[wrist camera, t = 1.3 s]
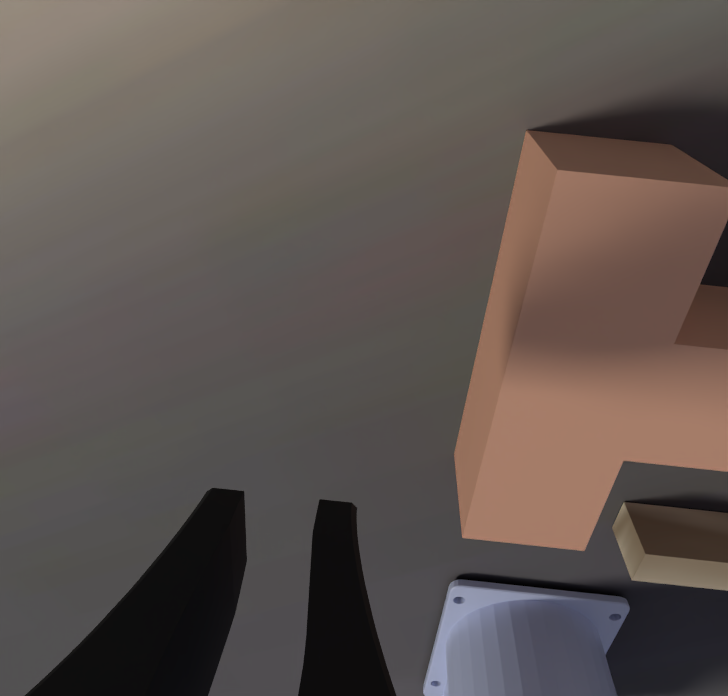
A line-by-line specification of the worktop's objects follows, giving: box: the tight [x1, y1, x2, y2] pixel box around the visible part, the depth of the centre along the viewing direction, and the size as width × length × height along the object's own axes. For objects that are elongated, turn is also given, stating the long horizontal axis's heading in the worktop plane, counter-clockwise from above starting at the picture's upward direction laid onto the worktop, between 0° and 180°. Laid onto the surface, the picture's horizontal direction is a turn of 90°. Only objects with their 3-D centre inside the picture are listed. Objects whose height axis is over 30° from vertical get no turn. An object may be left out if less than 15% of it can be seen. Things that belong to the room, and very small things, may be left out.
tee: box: [454, 130, 728, 551], centre depth 18 cm, size 12×12×4 cm
